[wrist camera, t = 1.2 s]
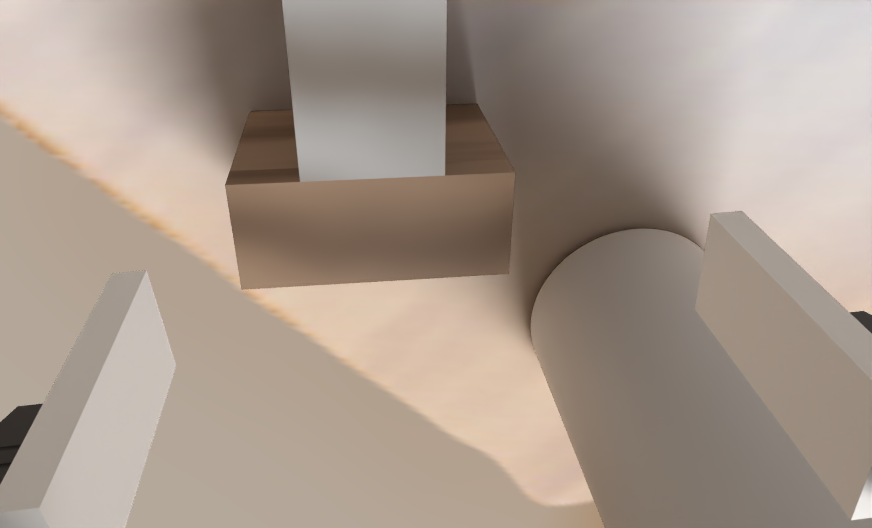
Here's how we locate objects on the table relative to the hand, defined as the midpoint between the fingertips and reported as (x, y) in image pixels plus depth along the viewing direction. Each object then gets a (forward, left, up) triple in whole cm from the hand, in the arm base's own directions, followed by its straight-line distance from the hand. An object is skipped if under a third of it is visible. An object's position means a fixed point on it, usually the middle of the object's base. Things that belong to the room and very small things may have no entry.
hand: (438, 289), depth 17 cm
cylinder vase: (+17, +15, -23) cm, 32 cm away
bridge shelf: (-2, -1, -23) cm, 23 cm away
